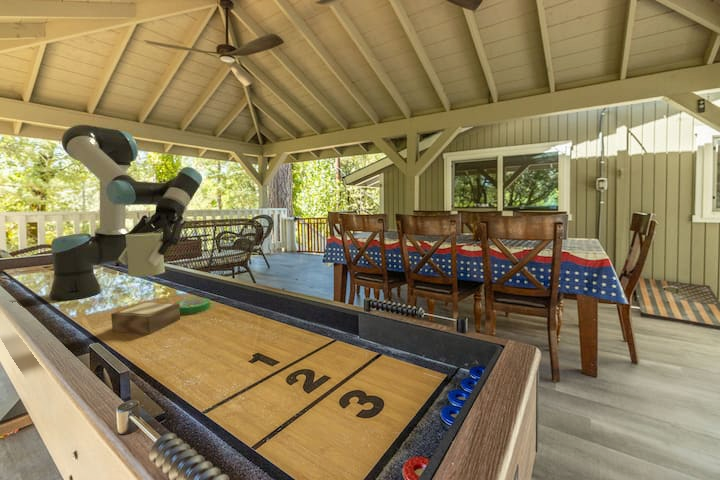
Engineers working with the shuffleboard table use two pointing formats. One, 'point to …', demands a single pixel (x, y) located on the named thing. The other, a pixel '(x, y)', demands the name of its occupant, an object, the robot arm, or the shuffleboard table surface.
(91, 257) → the robot arm
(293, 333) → the shuffleboard table surface
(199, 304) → the tape roll
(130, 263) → the can
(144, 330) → the plinth
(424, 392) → the shuffleboard table surface
